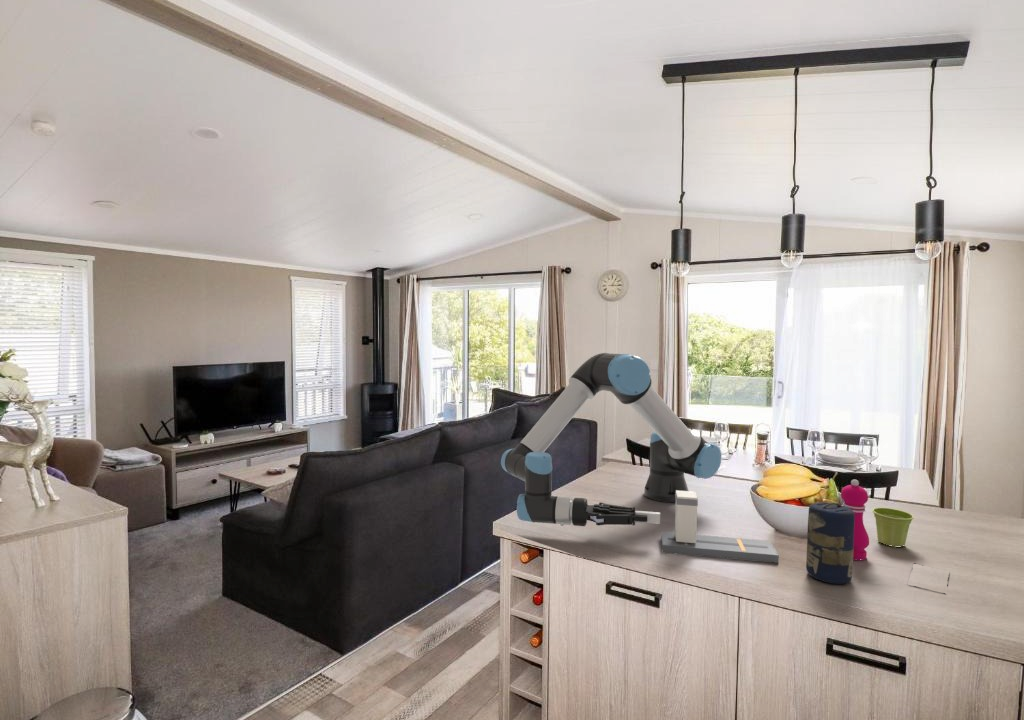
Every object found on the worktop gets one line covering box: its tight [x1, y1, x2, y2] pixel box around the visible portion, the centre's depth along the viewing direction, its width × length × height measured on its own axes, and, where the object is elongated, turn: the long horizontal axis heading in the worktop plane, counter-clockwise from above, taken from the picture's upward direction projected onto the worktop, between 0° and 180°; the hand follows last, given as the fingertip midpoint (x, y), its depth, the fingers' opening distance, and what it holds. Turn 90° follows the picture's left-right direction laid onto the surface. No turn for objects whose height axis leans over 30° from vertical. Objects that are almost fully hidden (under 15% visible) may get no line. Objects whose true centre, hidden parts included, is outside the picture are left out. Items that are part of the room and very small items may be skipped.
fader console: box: [660, 531, 780, 564], centre depth 147 cm, size 28×10×2 cm, turn 77°
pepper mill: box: [840, 479, 870, 561], centre depth 144 cm, size 7×7×20 cm
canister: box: [805, 501, 855, 585], centre depth 131 cm, size 10×10×18 cm
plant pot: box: [871, 507, 915, 546], centre depth 153 cm, size 9×9×9 cm
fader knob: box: [674, 490, 699, 543], centre depth 149 cm, size 5×6×12 cm
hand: (659, 518), depth 150 cm, fingers closed
